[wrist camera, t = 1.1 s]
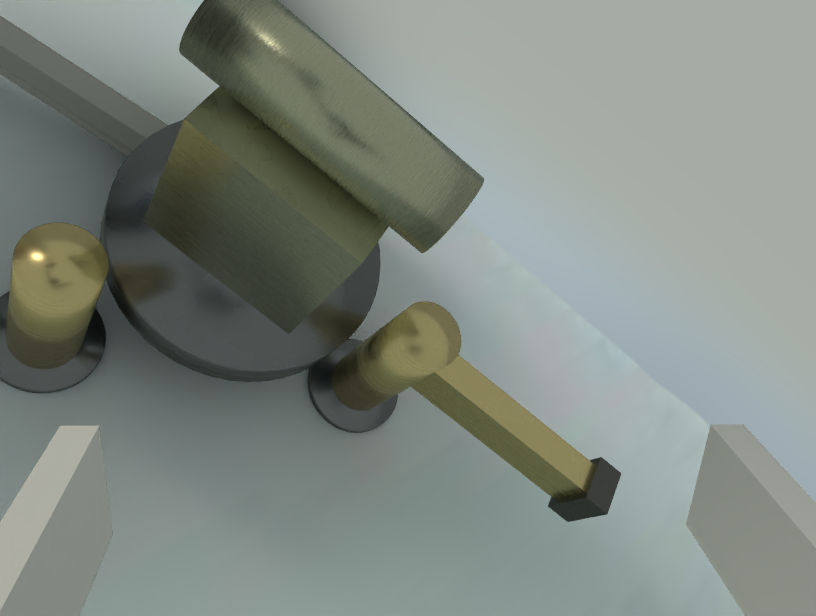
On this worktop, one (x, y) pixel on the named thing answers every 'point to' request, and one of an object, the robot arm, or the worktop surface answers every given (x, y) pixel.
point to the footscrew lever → (471, 406)
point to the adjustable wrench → (73, 91)
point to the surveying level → (242, 221)
